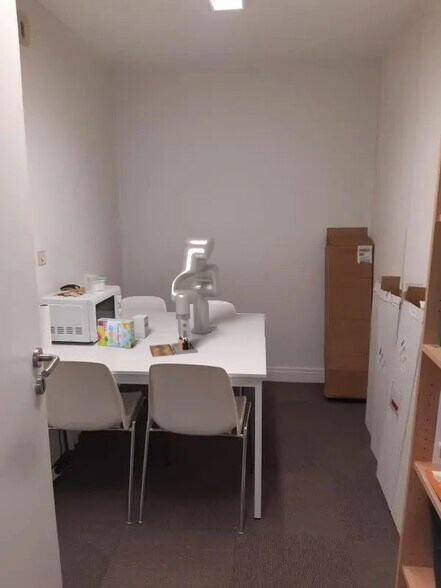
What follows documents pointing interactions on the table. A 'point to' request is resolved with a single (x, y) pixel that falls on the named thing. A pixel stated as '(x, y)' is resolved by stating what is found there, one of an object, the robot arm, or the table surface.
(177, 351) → the grey tray
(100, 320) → the snack box
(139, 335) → the supplement box
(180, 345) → the letter cube
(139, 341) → the table surface
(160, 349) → the wooden tray
